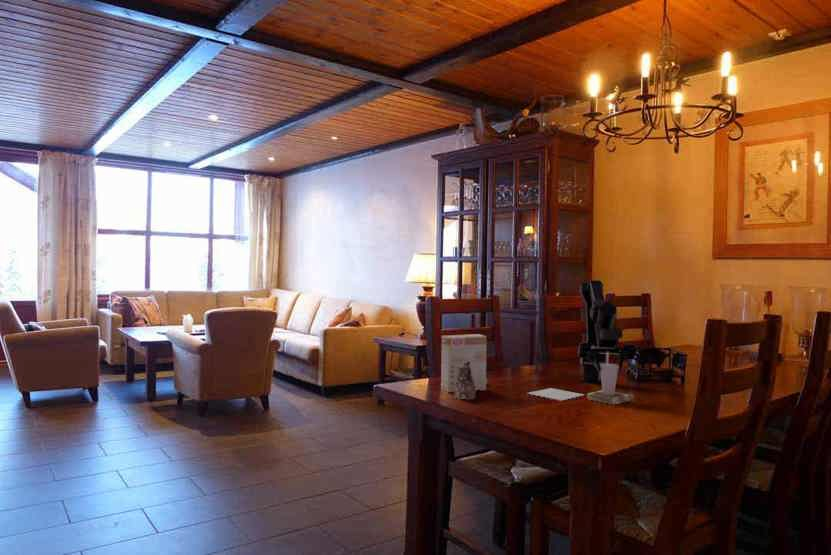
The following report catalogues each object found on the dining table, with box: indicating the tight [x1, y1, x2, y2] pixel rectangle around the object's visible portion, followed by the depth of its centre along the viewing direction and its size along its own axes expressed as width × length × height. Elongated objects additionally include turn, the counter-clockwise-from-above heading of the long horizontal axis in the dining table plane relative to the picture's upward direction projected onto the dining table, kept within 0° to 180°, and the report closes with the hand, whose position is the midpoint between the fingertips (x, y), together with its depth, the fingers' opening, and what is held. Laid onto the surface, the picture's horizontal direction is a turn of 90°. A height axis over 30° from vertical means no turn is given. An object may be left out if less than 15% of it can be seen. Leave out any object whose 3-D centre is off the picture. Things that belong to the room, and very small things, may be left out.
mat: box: [526, 387, 586, 402], centre depth 205 cm, size 14×14×1 cm
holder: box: [586, 389, 631, 406], centre depth 198 cm, size 10×10×2 cm
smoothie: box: [600, 352, 619, 395], centre depth 198 cm, size 6×6×14 cm
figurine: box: [453, 361, 476, 401], centre depth 199 cm, size 7×7×12 cm
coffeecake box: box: [440, 333, 488, 393], centre depth 211 cm, size 15×7×20 cm, turn 110°
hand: (609, 371), depth 196 cm, fingers closed on smoothie, 6 cm apart
